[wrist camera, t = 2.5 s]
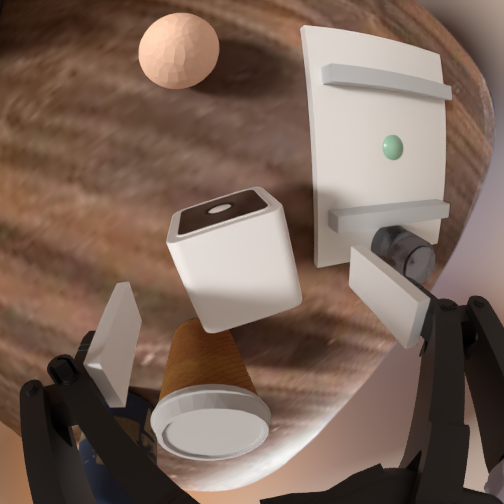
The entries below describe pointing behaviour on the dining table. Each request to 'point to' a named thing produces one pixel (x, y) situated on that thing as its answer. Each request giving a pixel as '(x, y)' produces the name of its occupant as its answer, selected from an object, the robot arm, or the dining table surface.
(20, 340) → the dining table surface
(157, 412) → the disposable coffee cup
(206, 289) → the white rounded plastic box
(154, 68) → the egg
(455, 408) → the robot arm
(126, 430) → the canister
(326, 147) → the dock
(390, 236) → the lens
